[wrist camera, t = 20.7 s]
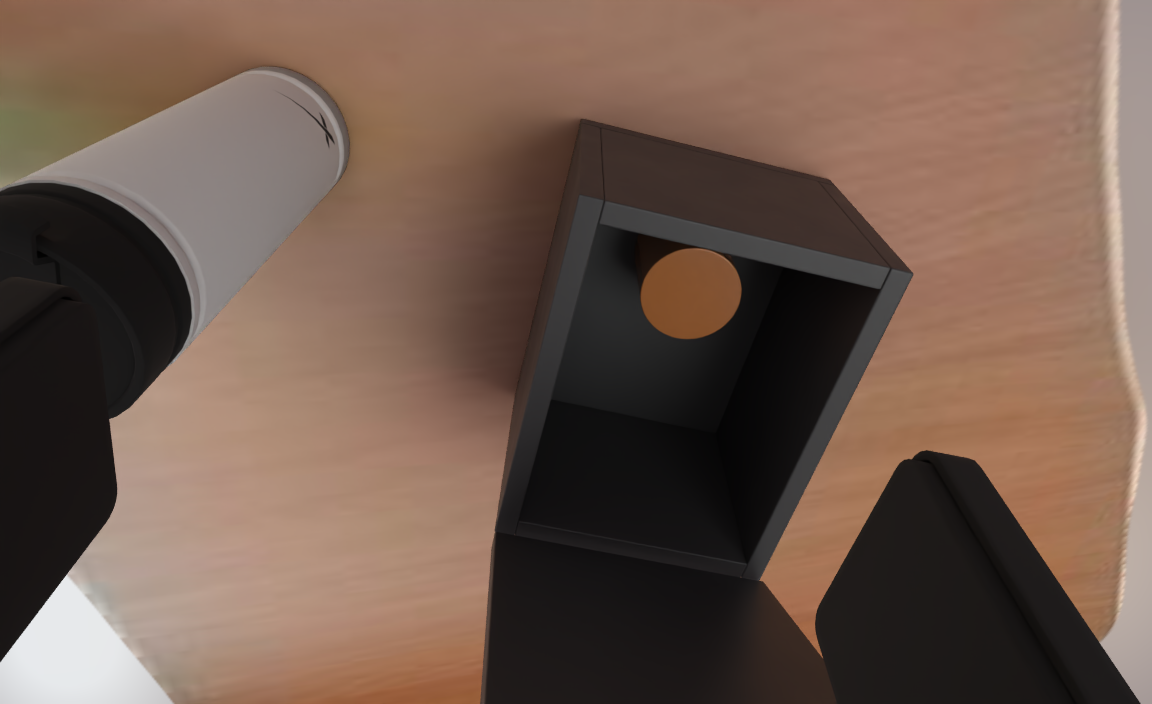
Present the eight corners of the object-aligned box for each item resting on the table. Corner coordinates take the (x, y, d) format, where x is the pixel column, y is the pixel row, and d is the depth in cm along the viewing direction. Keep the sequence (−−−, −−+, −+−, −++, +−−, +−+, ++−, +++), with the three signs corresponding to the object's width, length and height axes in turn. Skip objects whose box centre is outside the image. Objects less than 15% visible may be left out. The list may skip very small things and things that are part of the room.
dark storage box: (581, 118, 35) (578, 194, 26) (830, 179, 37) (914, 273, 27) (514, 395, 43) (494, 532, 34) (723, 438, 44) (759, 581, 35)
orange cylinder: (648, 198, 36) (656, 237, 32) (736, 219, 37) (756, 261, 33) (624, 280, 39) (628, 327, 34) (707, 299, 39) (722, 348, 35)
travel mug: (361, 80, 35) (136, 253, 17) (341, 214, 38) (135, 472, 21) (220, 39, 34) (-162, 177, 17) (212, 179, 37) (-115, 417, 20)
